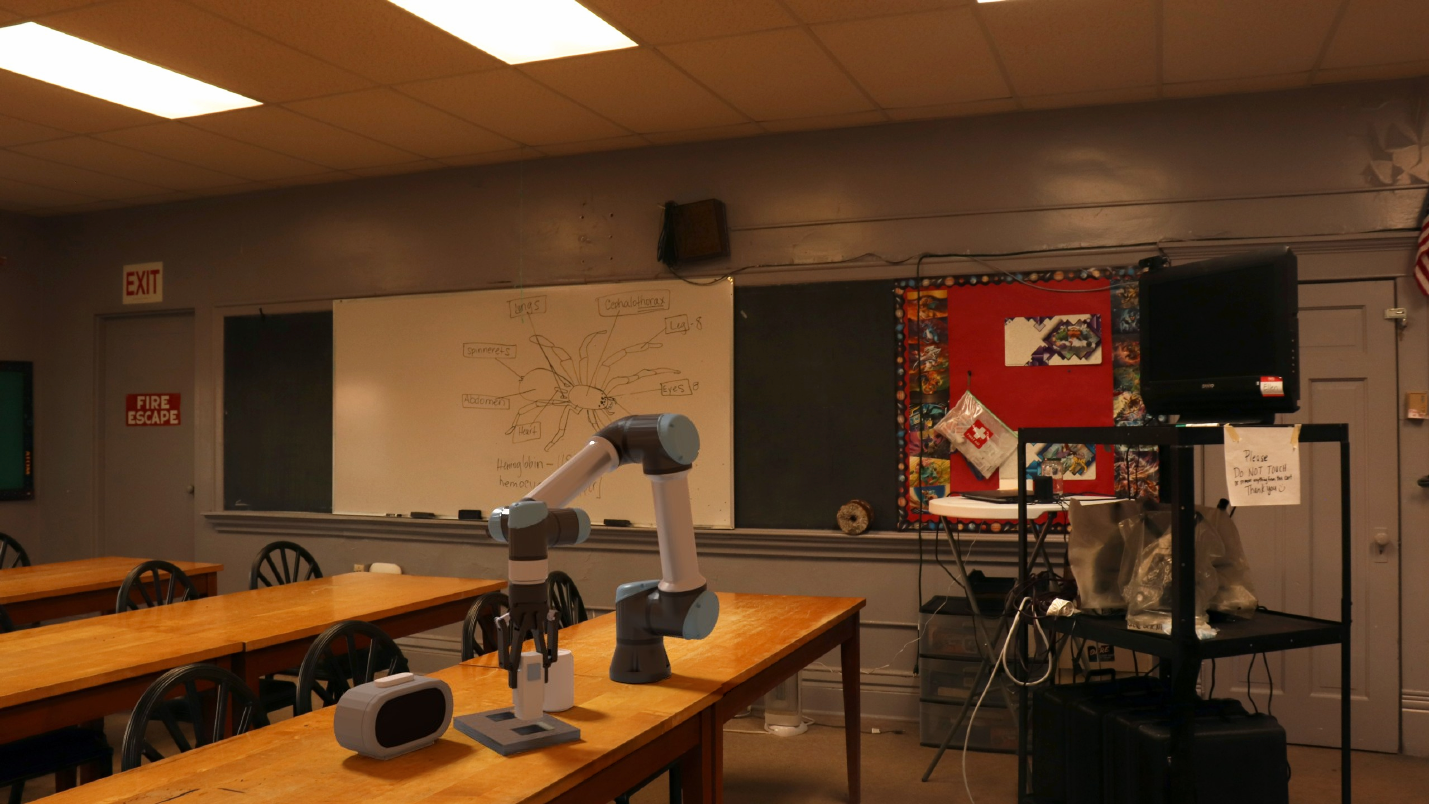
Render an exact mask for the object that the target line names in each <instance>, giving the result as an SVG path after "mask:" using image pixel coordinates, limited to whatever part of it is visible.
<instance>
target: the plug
mask: <svg viewBox="0 0 1429 804" xmlns="http://www.w3.org/2000/svg"><path fill="white" fill-rule="evenodd" d="M518 670H519V671H522V706H520V707H518V706H516V705H514V706H515V717H517V718H519V719H521V720H523V721H525V720H530V719H536V718H541V717H543V712H544V711H543V654H540V653H538V652H536V650H530V651H524V652H521V658H520V663H519V669H518Z"/></svg>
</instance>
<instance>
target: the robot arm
mask: <svg viewBox="0 0 1429 804" xmlns="http://www.w3.org/2000/svg"><path fill="white" fill-rule="evenodd" d="M700 449H701V440H700V435H699V431H698V428H697V427H696V425H695V423H694V421H692V420H691V419H690V418H689V417H688V416H686V415H684V414H681V413H670V412H667V413H666V412H664V413H663V412H662V413H650V414H647V413H646V414H630V415H629V414H628V415H626V416H623V417H620V418H618V419H616V420H614V421H612V422H610V423H608V424H607V425H606V426H604V427H602V428H601V429H599V430H598V431H597V432H595V433H593V435H592V436H590V437H589V438H588V439H586V441H585V444H584V447H583V448H582V449H581V450H580V451H579V452H577V453H576V454H575V455H574V456H572V457H571V458H570V459H569V460H567V461H566V462H565V463H564V464H563V465H561V466H560V467H558V469H556V470H555V471H554V472H553V473H551V475H549V476H548V477H547V478H545V479H544V480H543V481H541V483H539V484H538V485H537V486H536V487H535V488H533V489H532V490H530V491H529V493H527V494H526V495H524V496H523V497H522V498H521V499H520V500H518V501H514V502H512V503H511V504H510V505H505V506H500V507H497V508H495V509H494V510H492V512H491V514H490V515H489V518H488V523H487V524H488V525H487V526H488V527H487V528H488V531H489V534H490V536H491V537H492V538H493V540H496V541H497V542H500V543H507V544H508V580H509V581H510V583H509V584H508V608H507V609H506V610H507V611H506V613H505V614H503V615H501V616H500V617H499V616H496V617H494V618H493V622H494V625H495V627H496V630H497V631H496V632H497V633H496V634H497V655H498V656H497V658H498V662H497V663H498V668H499V669H502V670H504V671H507V673H508V674H507V675H508V676H507V677H508V688H509V689H511V690H512V705H513V706H515V705H516V706H518V707H520V706H522V671H519V670H518V669H519V663H520V658H521V653H523V652H522V651H523V647H524V646H523V645H524V640H525V637H526V635H527V631H530V632H531V633H532V637H533V642H534V647H535V652H538V653H540V654H543V702H545V683H548V668H549V667H551V664H552V663H553V662H554V663H555V662H557V660H558V649H559V623H560V620H561V618H562V612H561V611H559V610H555V609H550V606H549V604H548V599H549V583H548V582H547V581H546V580H547V579H548V578H549V567H548V563H549V561H548V560H549V559H548V558H549V556H548V555H549V548H555V547H564V546H566V547H567V546H575V545H577V544H581V543H583V542H585V541H586V540H587V539H588V538H589V536H590V534H591V530H592V525H591V524H592V521H591V518H590V516H589V514H588V513H587V512H586V511H585V510H584V509H582V508H580V507H570V506H569V504H570V503H572V502H573V501H574V500H575V499H576V498H578V497H579V496H580V495H581V494H583V492H584V491H585V490H587V489H588V488H589V487H590V486H592V484H594V483H595V482H596V481H597V480H598V479H600V478H601V477H602V476H603V475H605V474H609V473H612V472H615V471H616V470H617V469H618V468H619V467H623V466H626V465H630V464H632V465H633V464H639V465H642V472H643V473H642V474H643V476H645V477H646V478H648V479H649V480H650V484H651V492H652V499H653V506H654V507H653V509H654V516H655V523H656V532H657V539H658V549H659V555H660V564H661V572H662V579H648V580H641V581H633V582H628V583H623V584H620V585H619V586H618V587H617V588H616V594H615V601H614V604H615V632H616V633H615V636H616V637H615V640H616V641H615V643H616V644H615V649H614V652H613V654H612V655H613V656H612V658H611V661H610V665H609V669H608V670H609V671H608V672H609V673H608V674H609V675H608V676H609V679H610V680H612V681H615V682H618V683H628V684H645V683H647V684H649V683H655V682H660V681H664V680H667V679H669V678H671V676H672V665H671V663H670V659H669V657H668V653H667V650H666V647H665V643H664V640H665V639H664V637H666V638H667V637H668V638H676V639H683V640H686V641H690V640H696V641H698V640H705V639H706V638H707V637H709V636H710V635H711V633H712V632H713V630H714V629H715V627H716V624H717V622H718V620H719V615H720V600H719V597H718V595H717V594H716V592H714V591H712V590H711V589H708V583H707V578H706V577H704V576H703V575H702V574H701V573H700V572H699V571H700V569H699V563H698V555H697V546H696V538H695V531H694V530H695V529H694V521H693V514H692V506H691V498H690V492H689V491H690V490H689V482H688V474H689V473H690V472H691V471H692V469H693V463H694V462H695V461H696V460H697V458H699V457H698V456H699V455H700V453H699V450H700ZM567 506H569V507H567ZM546 619H547V626H546V627H547V630H546V631H547V632H546V635H547V636H546V638H545V629H544V628H545V627H544V621H545V620H546ZM510 621H511V623H512V624H513V628H512V639H511V645H510V637H509V635H510V633H509V632H510V631H509V626H510Z"/></svg>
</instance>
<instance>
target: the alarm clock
mask: <svg viewBox="0 0 1429 804" xmlns="http://www.w3.org/2000/svg"><path fill="white" fill-rule="evenodd" d="M453 714H454V694H453V692H452V688H451V687H450V685H449V684H448V683H447V682H446V681H444V680H442V679H440V678H435V677H429V676H421V675H415V674H414V673H412V672H401V673H396V674H392V675H388V676H385V677H380V678H377V679H374V681H370V682H366V683H363V684H362V683H361V684H359V685H356V686H354V687H352V688H349V689H348V690H347V691H345V692H344V694H342V695H341V697H339V700H338V702H337V704H336V706H335V709H334V714H333V715H334V716H333V733H334V737H335V739H336V742H337V743H338V745H339V746H340V747H341V748H344V749H346V750H349V751H353V752H357V755H360V756H364V757H367V758H368V757H369V758H372V759H376V760H380V761H385V762H386V761H387V760H391V759H394V758H397V757H400V756H402V755H406V754H407V753H411V752H414V751H417V750H420V749H423V748H426V747H429V746H431V745H434V741H435V740H438V739H440V738H442V737H443V736H444V734H445V733H446V732H447V731H448V729H449V727H450V725H451V723H452V720H453Z"/></svg>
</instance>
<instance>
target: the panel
mask: <svg viewBox="0 0 1429 804" xmlns="http://www.w3.org/2000/svg"><path fill="white" fill-rule="evenodd" d="M452 720H453V721H452V727H453V728H454V729H456V730H457V731H459V732H461V733H463V734H464V735H465V736H468V737H470V738H471V739H473V740H475V741H477V742H478V743H480V744H482V745H484V746H486V747H487V748H488V749H490V750H492V751H494V752H495V753H497V754H499V755H500V756H503V757H507V756H511V755H516V754H521V753H525V752H530V751H534V750H540V749H543V748H548V747H553V746H557V745H563V744H568V743H572V742H576V741H581V736H582V735H581V733H582V731H581V728H579V727H576V726H574V725H572V724H569V723H568V722H566V721H563V720H561V719H559V718H557V717H555V716H553V715H550V714H548V713H546V712H545V711H543V717H541V718H536V719H530V720H525V721H523V720H521V719H519V718H517V717H515V705H513V706H508V707H501V708H496V709H490V710H485V711H480V712H474V713H468V714H462V715H457V716H452Z"/></svg>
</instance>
